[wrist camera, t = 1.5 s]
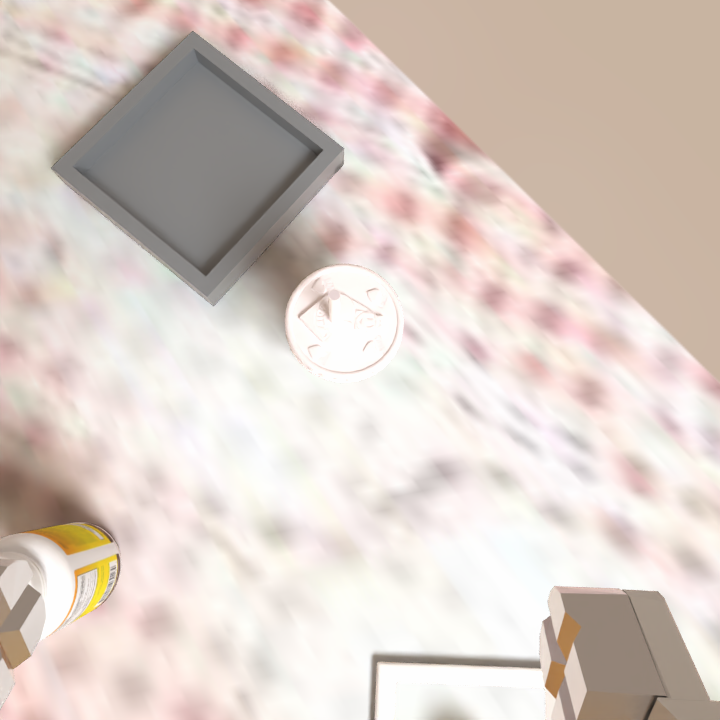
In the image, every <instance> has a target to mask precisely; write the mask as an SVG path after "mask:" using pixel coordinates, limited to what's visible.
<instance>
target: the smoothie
mask: <svg viewBox="0 0 720 720" xmlns="http://www.w3.org/2000/svg"><path fill="white" fill-rule="evenodd" d="M403 326H404V317H403V310H402V306H401V303H400V300H399V298H398V296H397V294H396V293H395V291H394V290H393V288H392V287H391V286H390V284H389V283H388V282H387V281H386V280H385V279H384V278H382V277H381V276H380V275H378V274H377V273H375V272H374V271H372V270H370V269H367V268H365V267H362V266H358V265H353V264H335V265H330V266H326V267H323V268H321V269H318V270H316V271H314V272H313V273H311V274H310V275H308V276H307V277H306V278H305V279H303V280H302V281H301V282H300V284H299V285H298V286H297V287H296V288H295V290H294V291H293V293H292V295H291V297H290V299H289V302H288V305H287V308H286V314H285V328H286V337H287V340H288V343H289V346H290V349H291V351H292V352H293V354H294V355H295V357H296V358H297V360H298V361H299V363H300V364H302V365H303V366H304V367H305V368H306V369H307V370H309V371H310V372H311V373H313V374H315V375H317V376H319V377H321V378H323V379H325V380H330V381H335V382H340V383H344V382H357V381H360V380H363V379H366V378H369V377H371V376H373V375H375V374H376V373H377V372H379V371H380V370H382V369H383V368H385V367H386V365H387V364H388V363H389V362H390V361H391V360H392V358H393V357H394V356H395V354H396V352H397V350H398V348H399V345H400V343H401V339H402V333H403Z"/></svg>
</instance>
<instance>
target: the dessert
mask: <svg viewBox="0 0 720 720" xmlns="http://www.w3.org/2000/svg"><path fill="white" fill-rule="evenodd" d="M398 682H409V683H433V684H457V685H482V686H506V687H531V688H543V689H544V690H545V720H552V719H551V715H552V712H553V708H554V705H555V701H556V699H555V698H554V697H553V695H552V694H551V693H550V692H549V691H548V690H547V689H546V688H545V686H544V681H543V676H542V671H541V668H525V667H500V666H476V665H451V664H426V663H401V662H378V663H377V669H376V693H375V717H374V720H395V694H396V684H397V683H398Z"/></svg>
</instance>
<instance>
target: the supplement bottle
mask: <svg viewBox="0 0 720 720" xmlns="http://www.w3.org/2000/svg"><path fill="white" fill-rule="evenodd" d="M0 559H13V560H25V561H27V562H28V564H29V566H30V568H31V570H32V572H33V577H32V578H31V580H30V582H29V583H28V584H29V585H30V586H32V587H33V588H34V589H35V590H37V591H38V592H39V593H41V594H42V597H43V600H44V602H45V608H46V620H45V624H44V628H43V632H42V635H41V639H40V640H39V641H41V640H43V639H45V638H47V637H48V636H50V635H52V634H53V633H55V632H57V631H58V630H60V629H62V628H64V627H65V626H67V625H69V624H70V623H72V622H74V621H75V620H77V619H79V618H81V617H82V616H84V615H86V614H87V613H89V612H91V611H93V610H94V609H96V608H97V607H99V606H100V605H101V604H102V603H104V602H105V601H106V600H107V599H108V598H109V596H110V595H111V594H112V592H113V591H114V589H115V587H116V585H117V583H118V581H119V577H120V573H121V555H120V551H119V548H118V546H117V544H116V542H115V541H114V539H113V538H112V537H111V536H110V534H109V533H107V532H106V531H105V530H104V529H102V528H100V527H98V526H96V525H94V524H90V523H85V522H74V523H68V524H63V525H58V526H53V527H47V528H42V529H37V530H32V531H27V532H22V533H17V534H12V535H8V536H5V537H2V538H0Z"/></svg>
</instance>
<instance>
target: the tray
mask: <svg viewBox="0 0 720 720" xmlns="http://www.w3.org/2000/svg"><path fill="white" fill-rule="evenodd" d="M343 164H344V148H343V147H341V146H340V145H339V144H338V143H336V142H335V141H334V140H332V139H331V138H330V137H329V136H327V135H326V134H325V133H323V132H322V131H321V130H320V129H318V128H317V127H316V126H314V125H313V124H312V123H311V122H309V121H308V120H307V119H305V118H304V117H303V116H302V115H300V114H299V113H298V112H296V111H295V110H294V109H293V108H291V107H290V106H289V105H287V104H286V103H285V102H284V101H282V100H281V99H280V98H278V97H277V96H276V95H275V94H273V93H272V92H271V91H270V90H268V89H267V88H266V87H264V86H263V85H262V84H261V83H259V82H258V81H257V80H255V79H254V78H253V77H252V76H250V75H249V74H248V73H246V72H245V71H244V70H243V69H241V68H240V67H239V66H237V65H236V64H235V63H234V62H232V61H231V60H230V59H228V58H227V57H226V56H225V55H223V54H222V53H221V52H219V51H218V50H217V49H216V48H214V47H213V46H212V45H210V44H209V43H208V42H207V41H205V40H204V39H203V38H201V37H200V36H199V35H198V34H196V33H195V32H194V31H192V32H191V33H190V34H189V35H188V36H187V37H186V38H185V39H184V40H183V41H182V42H181V43H180V44H179V45H178V46H177V47H176V48H175V49H174V50H172V51H171V52H170V53H169V54H168V55H167V56H166V57H165V58H164V59H163V60H162V61H161V62H160V63H159V64H158V65H157V66H156V67H155V68H154V69H153V70H152V71H151V72H150V73H149V74H148V75H147V76H146V77H145V78H143V79H142V80H141V81H140V82H139V83H138V84H137V85H136V86H135V87H134V88H133V89H132V90H131V91H130V92H129V93H128V94H127V95H126V96H125V97H124V98H123V99H122V100H121V101H120V102H119V103H118V104H117V105H115V106H114V107H113V108H112V109H111V110H110V111H109V112H108V113H107V114H106V115H105V116H104V117H103V118H102V119H101V120H100V121H99V122H98V123H97V124H96V125H95V126H94V127H93V128H92V129H91V130H90V131H89V132H88V133H86V134H85V135H84V136H83V137H82V138H81V139H80V140H79V141H78V142H77V143H76V144H75V145H74V146H73V147H72V148H71V149H70V150H69V151H68V152H67V153H66V154H65V155H64V156H63V157H62V158H61V159H60V160H58V161H57V162H56V163H55V164H54V165H53V166H52V167H51V169H52V170H53V171H54V172H55V173H56V174H57V175H58V176H59V177H60V179H61V180H62V181H63V182H64V183H65V184H66V185H67V186H69V187H70V188H71V189H72V190H73V191H75V192H76V193H77V194H78V195H80V196H81V197H82V198H83V199H84V200H86V201H87V202H88V203H89V204H90V205H92V206H93V207H94V208H95V209H96V210H98V211H99V212H100V213H101V214H102V215H104V216H105V217H106V218H107V219H109V220H110V221H111V222H112V223H113V224H115V225H116V226H117V227H118V228H119V229H121V230H122V231H123V232H124V233H125V234H127V235H128V236H129V237H130V238H131V239H133V240H134V241H135V242H136V243H138V244H139V245H140V246H141V247H142V248H144V249H145V250H146V251H147V252H148V253H150V254H151V255H152V256H153V257H154V258H156V259H157V260H158V261H159V262H160V263H162V264H163V265H164V266H165V267H167V268H168V269H169V270H170V271H171V272H173V273H174V274H175V275H176V276H177V277H179V278H180V279H181V280H182V281H183V282H185V283H186V284H187V285H188V286H189V287H191V288H192V289H193V290H194V291H196V292H197V293H198V294H199V295H200V296H202V297H203V298H204V299H205V300H206V301H208V302H209V303H210V304H211V305H212V306H214V305H215V304H216V303H217V302H218V301H219V300H220V299H221V298H222V297H223V296H224V295H225V293H226V292H227V291H228V290H229V289H230V288H231V287H232V286H233V285H234V284H235V283H236V281H237V280H238V279H239V278H240V277H241V276H242V275H243V274H244V273H245V272H246V271H247V269H248V268H249V267H250V266H251V265H252V264H253V263H254V262H255V261H256V260H257V259H258V257H259V256H260V255H261V254H262V253H263V252H264V251H265V250H266V249H267V248H268V247H269V245H270V244H271V243H272V242H273V241H274V240H275V239H276V238H277V237H278V236H279V234H280V233H281V232H282V231H283V230H284V229H285V228H286V227H287V226H288V225H289V224H290V222H291V221H292V220H293V219H294V218H295V217H296V216H297V215H298V214H299V213H300V212H301V210H302V209H303V208H304V207H305V206H306V205H307V204H308V203H309V202H310V201H311V200H312V198H313V197H314V196H315V195H316V194H317V193H318V192H319V191H320V190H321V189H322V188H323V186H324V185H325V184H326V183H327V182H328V181H329V180H330V179H331V178H332V177H333V176H334V174H335V173H336V172H337V171H338V170H339V169H340V168H341V167H342V166H343Z"/></svg>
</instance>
